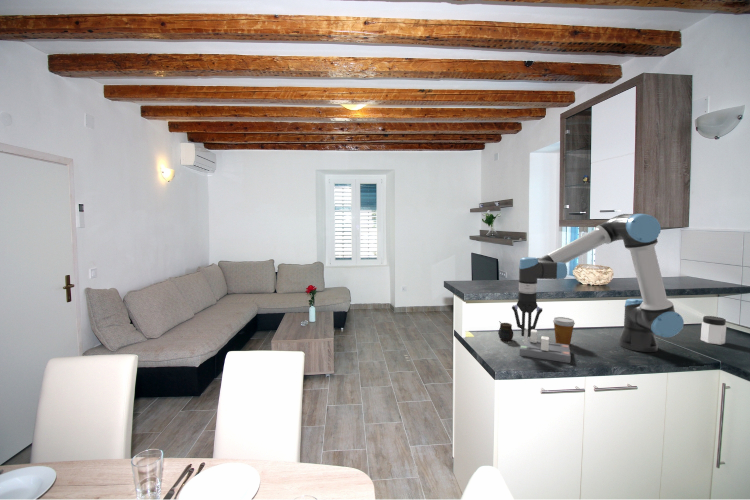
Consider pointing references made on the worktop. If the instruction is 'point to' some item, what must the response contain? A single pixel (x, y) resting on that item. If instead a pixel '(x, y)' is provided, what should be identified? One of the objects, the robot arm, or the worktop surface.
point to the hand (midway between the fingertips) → (525, 343)
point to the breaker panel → (554, 352)
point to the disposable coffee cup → (563, 330)
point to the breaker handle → (533, 336)
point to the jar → (713, 330)
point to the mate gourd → (505, 331)
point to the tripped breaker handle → (544, 343)
